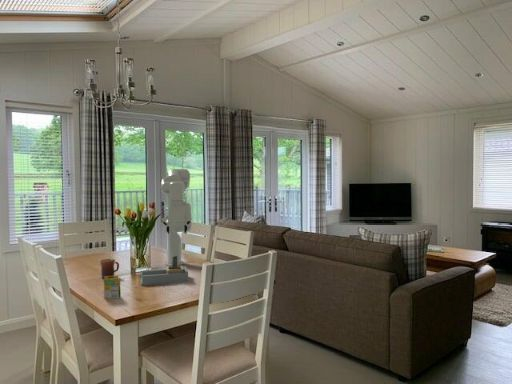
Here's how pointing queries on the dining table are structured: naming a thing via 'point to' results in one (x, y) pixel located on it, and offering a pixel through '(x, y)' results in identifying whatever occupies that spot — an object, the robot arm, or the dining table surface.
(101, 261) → the mug
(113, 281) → the crayon box
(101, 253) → the dining table surface
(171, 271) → the crate
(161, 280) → the bay
